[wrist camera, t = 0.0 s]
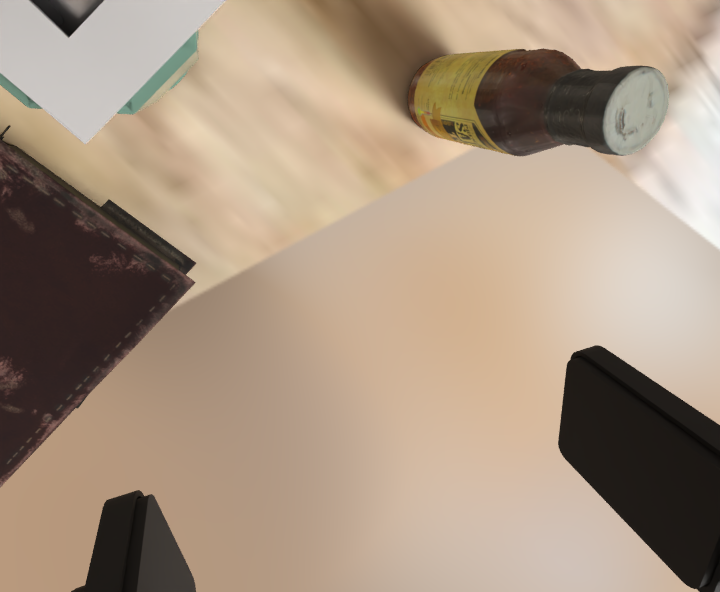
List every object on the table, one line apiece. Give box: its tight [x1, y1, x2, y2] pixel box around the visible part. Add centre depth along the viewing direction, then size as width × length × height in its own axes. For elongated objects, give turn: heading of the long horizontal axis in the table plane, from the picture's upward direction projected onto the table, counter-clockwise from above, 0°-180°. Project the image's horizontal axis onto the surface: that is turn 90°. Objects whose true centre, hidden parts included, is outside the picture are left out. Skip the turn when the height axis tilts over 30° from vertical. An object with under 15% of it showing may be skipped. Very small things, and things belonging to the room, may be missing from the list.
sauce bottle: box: [408, 49, 669, 156], centre depth 30 cm, size 6×6×20 cm
